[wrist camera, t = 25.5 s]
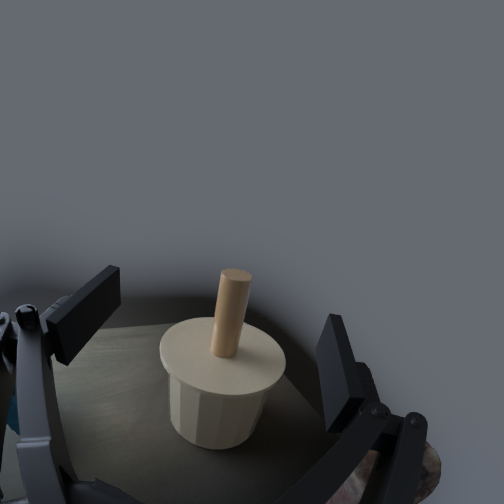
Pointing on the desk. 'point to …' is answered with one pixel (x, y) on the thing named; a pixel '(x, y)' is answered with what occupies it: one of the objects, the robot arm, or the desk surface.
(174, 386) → the beige cup
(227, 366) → the jug lid
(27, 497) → the robot arm
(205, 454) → the desk surface
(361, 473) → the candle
